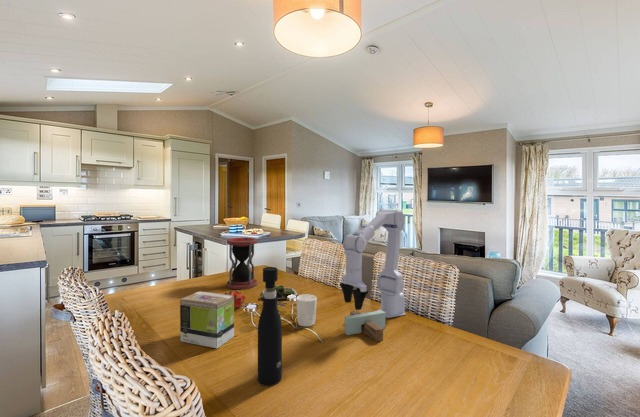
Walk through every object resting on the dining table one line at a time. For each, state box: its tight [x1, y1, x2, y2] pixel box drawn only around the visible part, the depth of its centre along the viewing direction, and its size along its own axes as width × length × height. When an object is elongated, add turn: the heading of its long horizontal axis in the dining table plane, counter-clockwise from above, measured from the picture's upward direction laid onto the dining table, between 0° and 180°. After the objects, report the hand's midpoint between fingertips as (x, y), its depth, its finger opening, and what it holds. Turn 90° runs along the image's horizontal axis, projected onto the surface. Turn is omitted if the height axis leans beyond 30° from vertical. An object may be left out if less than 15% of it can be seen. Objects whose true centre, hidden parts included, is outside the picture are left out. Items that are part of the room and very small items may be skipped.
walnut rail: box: [349, 310, 384, 343], centre depth 113 cm, size 3×18×4 cm, turn 23°
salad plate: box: [260, 284, 298, 302], centre depth 153 cm, size 19×18×5 cm
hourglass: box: [226, 237, 258, 290], centre depth 167 cm, size 16×16×25 cm
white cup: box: [296, 293, 318, 327], centre depth 119 cm, size 8×8×10 cm
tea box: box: [179, 290, 235, 349], centre depth 105 cm, size 15×10×15 cm, turn 71°
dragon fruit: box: [224, 289, 246, 311], centre depth 133 cm, size 8×8×12 cm
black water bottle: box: [257, 266, 283, 387], centre depth 82 cm, size 6×6×30 cm
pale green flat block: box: [344, 309, 387, 336], centre depth 113 cm, size 16×2×6 cm, turn 113°
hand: (353, 305), depth 111 cm, fingers open, 7 cm apart
